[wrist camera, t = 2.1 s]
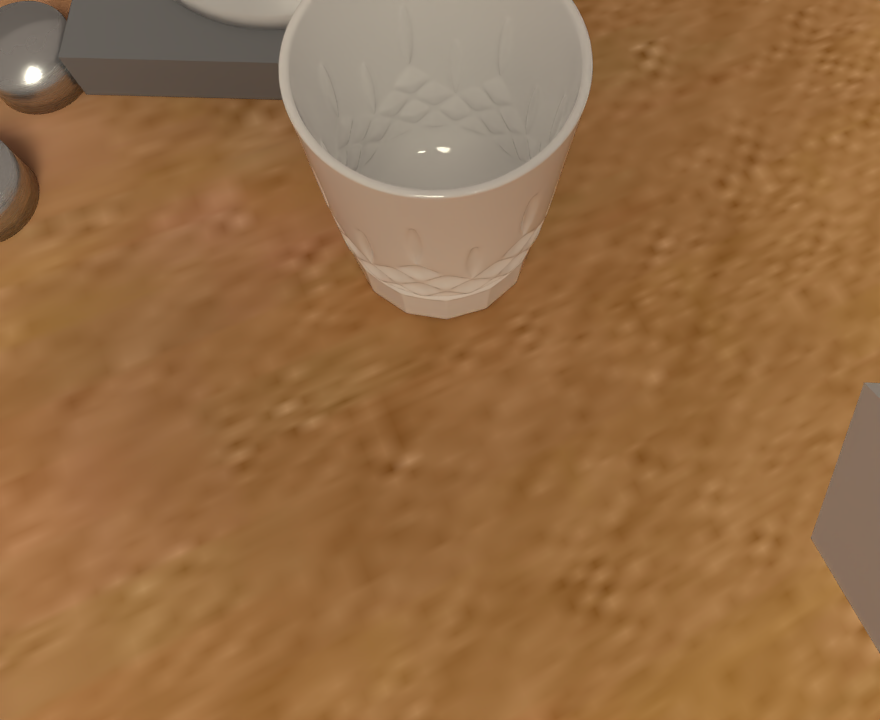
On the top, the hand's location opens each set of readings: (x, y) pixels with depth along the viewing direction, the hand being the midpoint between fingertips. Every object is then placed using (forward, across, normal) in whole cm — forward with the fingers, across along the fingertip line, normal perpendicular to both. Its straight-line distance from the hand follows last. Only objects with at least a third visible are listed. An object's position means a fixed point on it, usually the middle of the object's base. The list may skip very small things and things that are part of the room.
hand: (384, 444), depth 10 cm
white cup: (+18, 0, -3) cm, 18 cm away
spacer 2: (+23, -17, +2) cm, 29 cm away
